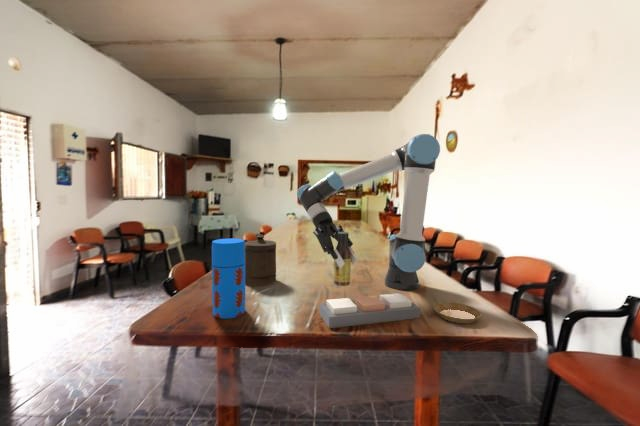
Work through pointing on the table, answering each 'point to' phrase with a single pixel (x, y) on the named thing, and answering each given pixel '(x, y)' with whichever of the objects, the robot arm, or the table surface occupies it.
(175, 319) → the table surface
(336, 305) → the key
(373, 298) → the key mid
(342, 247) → the sauce bottle
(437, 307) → the tan shallow bowl
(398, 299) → the key
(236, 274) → the thermos
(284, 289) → the table surface
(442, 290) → the table surface
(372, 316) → the key pad
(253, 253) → the wooden container
